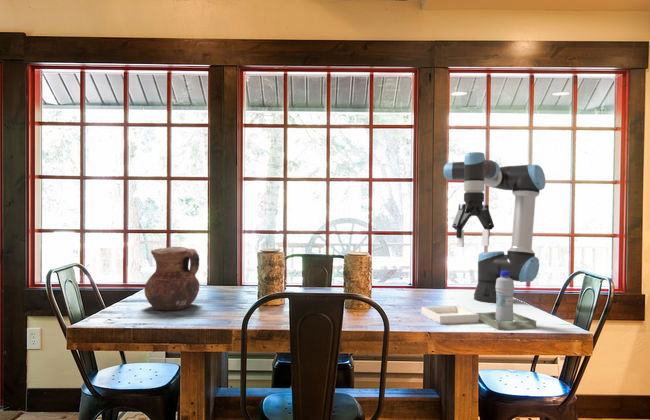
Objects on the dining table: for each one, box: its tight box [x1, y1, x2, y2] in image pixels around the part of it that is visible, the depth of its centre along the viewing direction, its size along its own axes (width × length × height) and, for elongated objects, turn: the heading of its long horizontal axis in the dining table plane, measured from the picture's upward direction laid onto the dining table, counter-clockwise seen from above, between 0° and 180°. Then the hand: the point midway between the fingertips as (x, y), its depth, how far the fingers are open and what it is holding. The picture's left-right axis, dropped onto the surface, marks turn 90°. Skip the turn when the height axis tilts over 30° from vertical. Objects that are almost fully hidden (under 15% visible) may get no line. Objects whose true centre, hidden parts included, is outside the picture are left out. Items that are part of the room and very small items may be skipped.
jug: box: [143, 246, 200, 311], centre depth 193 cm, size 22×21×25 cm
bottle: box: [495, 271, 515, 322], centre depth 172 cm, size 7×7×20 cm
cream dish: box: [421, 305, 480, 325], centre depth 179 cm, size 16×16×3 cm
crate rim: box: [475, 311, 537, 331], centre depth 172 cm, size 16×16×2 cm
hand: (473, 246), depth 179 cm, fingers open, 13 cm apart
